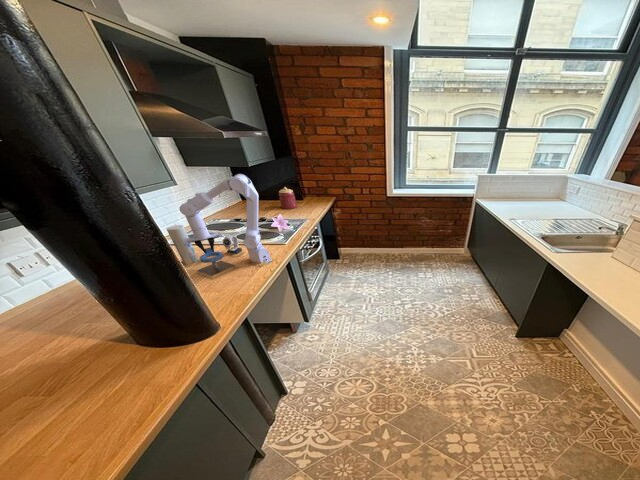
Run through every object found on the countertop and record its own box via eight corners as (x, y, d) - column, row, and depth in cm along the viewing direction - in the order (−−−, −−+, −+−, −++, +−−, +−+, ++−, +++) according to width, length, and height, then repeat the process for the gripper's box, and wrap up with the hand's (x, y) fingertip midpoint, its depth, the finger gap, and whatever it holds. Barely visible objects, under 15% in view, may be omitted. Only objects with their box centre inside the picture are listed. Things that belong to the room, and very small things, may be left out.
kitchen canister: (283, 205, 227) (278, 185, 218) (298, 205, 229) (294, 185, 220) (279, 209, 216) (274, 188, 207) (295, 209, 218) (291, 188, 209)
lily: (270, 234, 169) (272, 223, 164) (268, 223, 175) (270, 212, 170) (289, 236, 177) (291, 226, 171) (287, 225, 183) (289, 215, 177)
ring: (224, 259, 120) (222, 253, 119) (202, 264, 115) (199, 259, 114) (220, 250, 128) (218, 245, 126) (199, 255, 123) (196, 250, 121)
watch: (226, 257, 137) (218, 239, 131) (236, 251, 143) (229, 233, 138) (235, 257, 136) (228, 239, 131) (245, 251, 143) (238, 233, 138)
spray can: (186, 261, 131) (169, 225, 121) (201, 259, 133) (185, 224, 123) (182, 267, 126) (163, 230, 116) (197, 265, 128) (180, 228, 118)
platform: (236, 267, 127) (233, 259, 124) (212, 278, 117) (208, 269, 115) (221, 262, 131) (218, 254, 128) (197, 273, 121) (192, 264, 119)
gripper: (215, 222, 124) (225, 246, 131) (178, 228, 115) (190, 254, 122) (217, 225, 119) (227, 251, 126) (179, 232, 111) (192, 259, 118)
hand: (209, 253), depth 124 cm, fingers closed on ring, 2 cm apart
